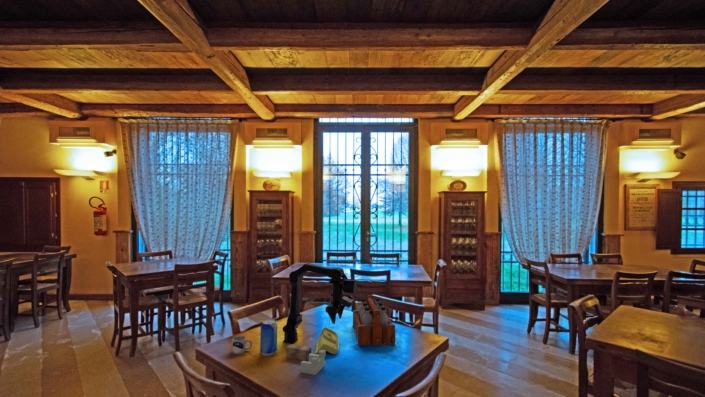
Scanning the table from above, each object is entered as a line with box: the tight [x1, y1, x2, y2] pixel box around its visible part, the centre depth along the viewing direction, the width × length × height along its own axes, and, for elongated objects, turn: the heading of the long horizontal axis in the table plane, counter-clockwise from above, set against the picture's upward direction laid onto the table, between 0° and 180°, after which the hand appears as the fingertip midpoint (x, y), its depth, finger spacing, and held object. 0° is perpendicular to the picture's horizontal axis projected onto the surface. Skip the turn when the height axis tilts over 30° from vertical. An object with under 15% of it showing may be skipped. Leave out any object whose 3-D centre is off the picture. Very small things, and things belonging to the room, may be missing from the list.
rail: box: [285, 343, 312, 362], centre depth 161 cm, size 12×4×5 cm, turn 71°
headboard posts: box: [300, 350, 327, 376], centre depth 149 cm, size 8×10×7 cm
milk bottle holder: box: [352, 294, 396, 347], centre depth 191 cm, size 21×35×19 cm, turn 5°
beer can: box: [259, 318, 278, 357], centre depth 165 cm, size 8×8×16 cm
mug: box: [231, 335, 253, 355], centre depth 167 cm, size 10×7×7 cm, turn 94°
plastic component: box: [314, 326, 340, 355], centre depth 173 cm, size 20×7×10 cm
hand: (337, 320), depth 171 cm, fingers open, 9 cm apart
